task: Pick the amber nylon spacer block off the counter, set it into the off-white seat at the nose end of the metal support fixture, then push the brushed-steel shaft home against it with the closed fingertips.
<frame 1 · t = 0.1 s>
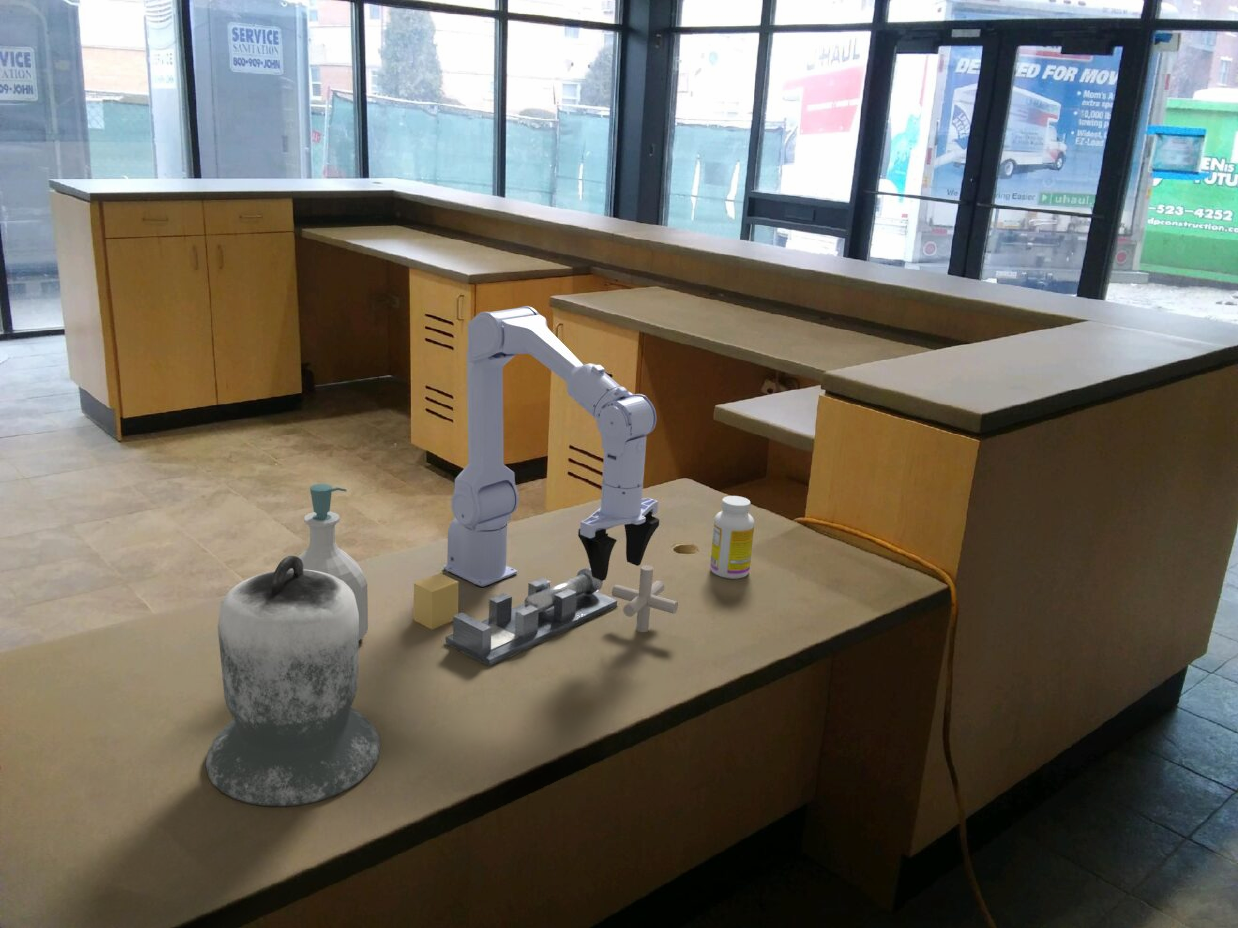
hand: (616, 570, 154), 10 cm above the countertop, fingers open, 7 cm apart
spacer: (435, 619, 158), on the countertop
shaft: (562, 591, 162), point 3 cm above the countertop, slide at 5.0 cm
bell: (295, 757, 124), on the countertop
metal support fixture: (527, 627, 157), on the countertop
soap bottle: (325, 639, 151), on the countertop
supplement bottle: (729, 572, 181), on the countertop
white crossed rods piece: (642, 630, 159), on the countertop
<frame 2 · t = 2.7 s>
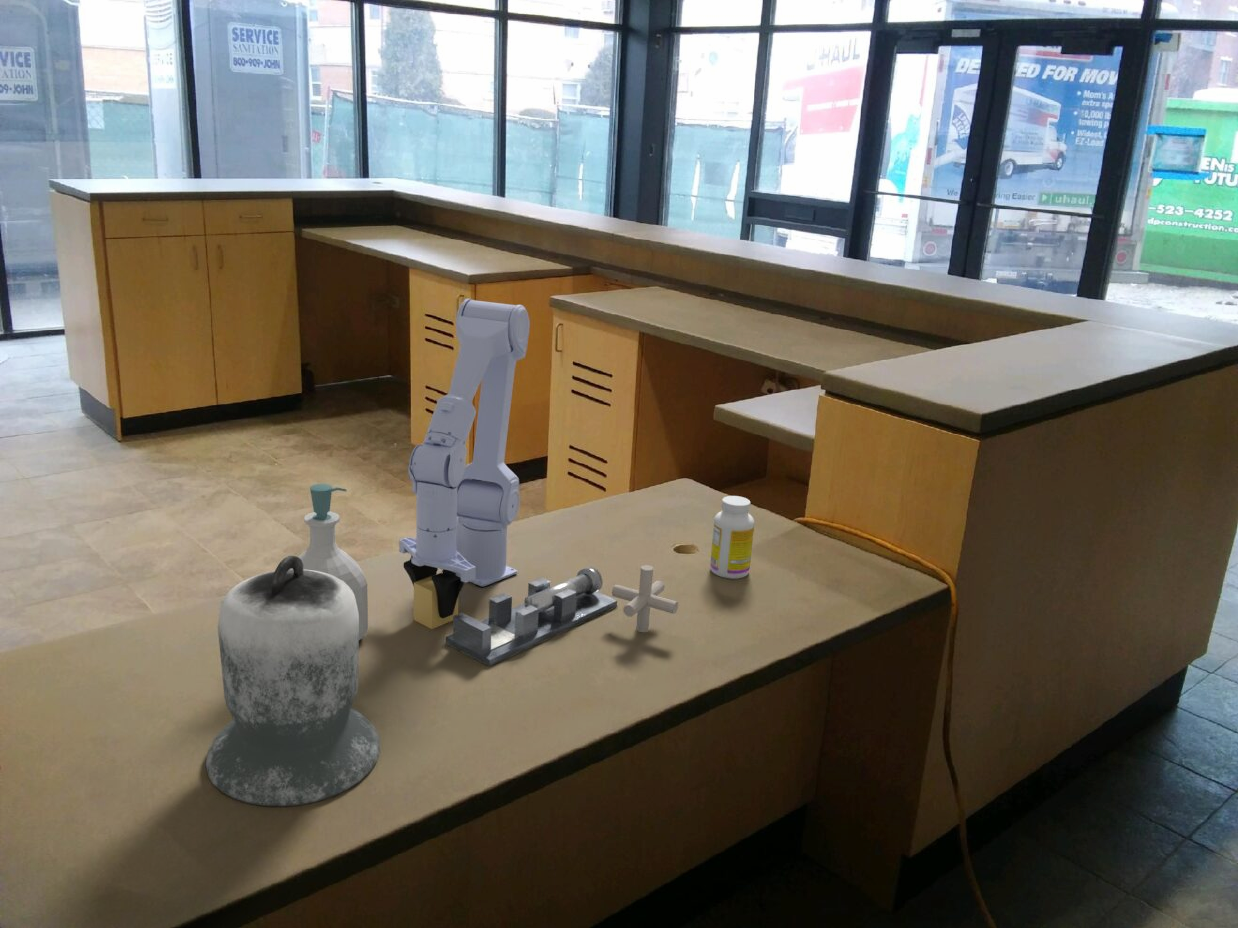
hand: (436, 610, 158), 1 cm above the countertop, fingers closed on spacer, 4 cm apart
spacer: (435, 618, 158), on the countertop, touching gripper
everything else where it was.
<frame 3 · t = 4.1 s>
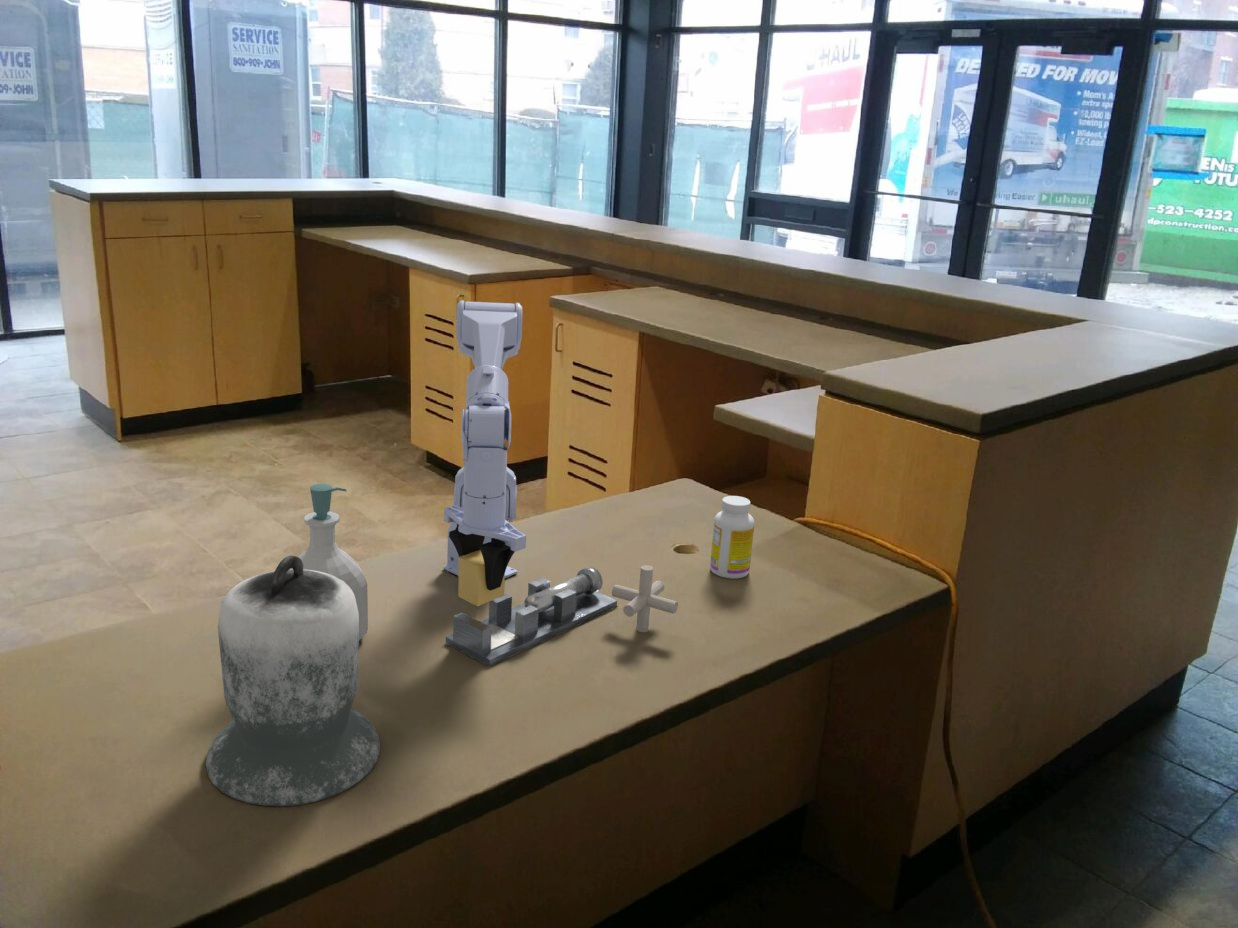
hand: (482, 582, 150), 9 cm above the countertop, fingers closed on spacer, 4 cm apart
spacer: (481, 595, 151), point 7 cm above the countertop, touching gripper
everything else where it was.
when the fingers open (4 cm above the countertop, at t = 5.5 s): spacer stays where it is, resting on metal support fixture.
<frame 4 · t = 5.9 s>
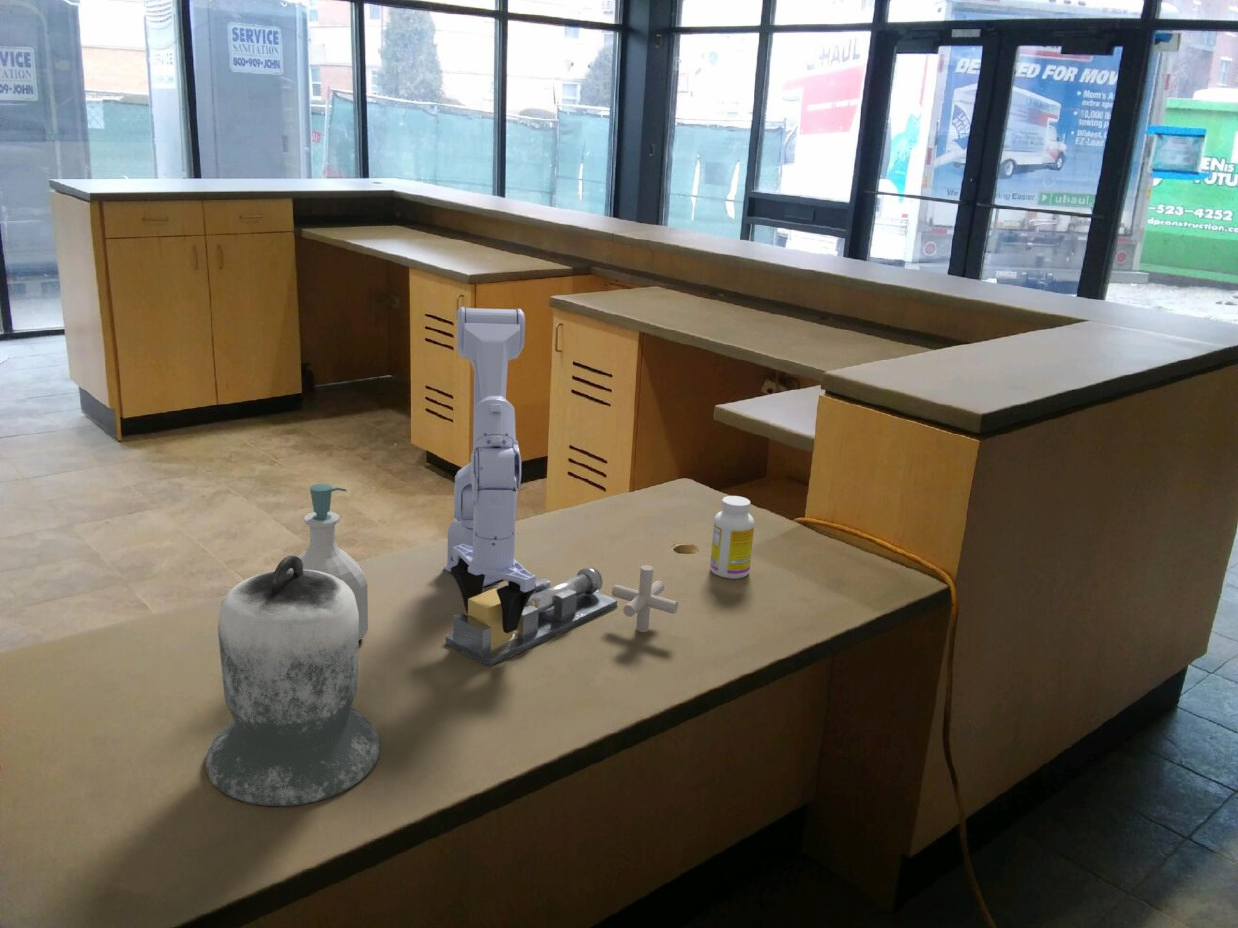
hand: (491, 620, 151), 4 cm above the countertop, fingers open, 7 cm apart
spacer: (490, 636, 152), point 1 cm above the countertop, touching metal support fixture
everything else where it was.
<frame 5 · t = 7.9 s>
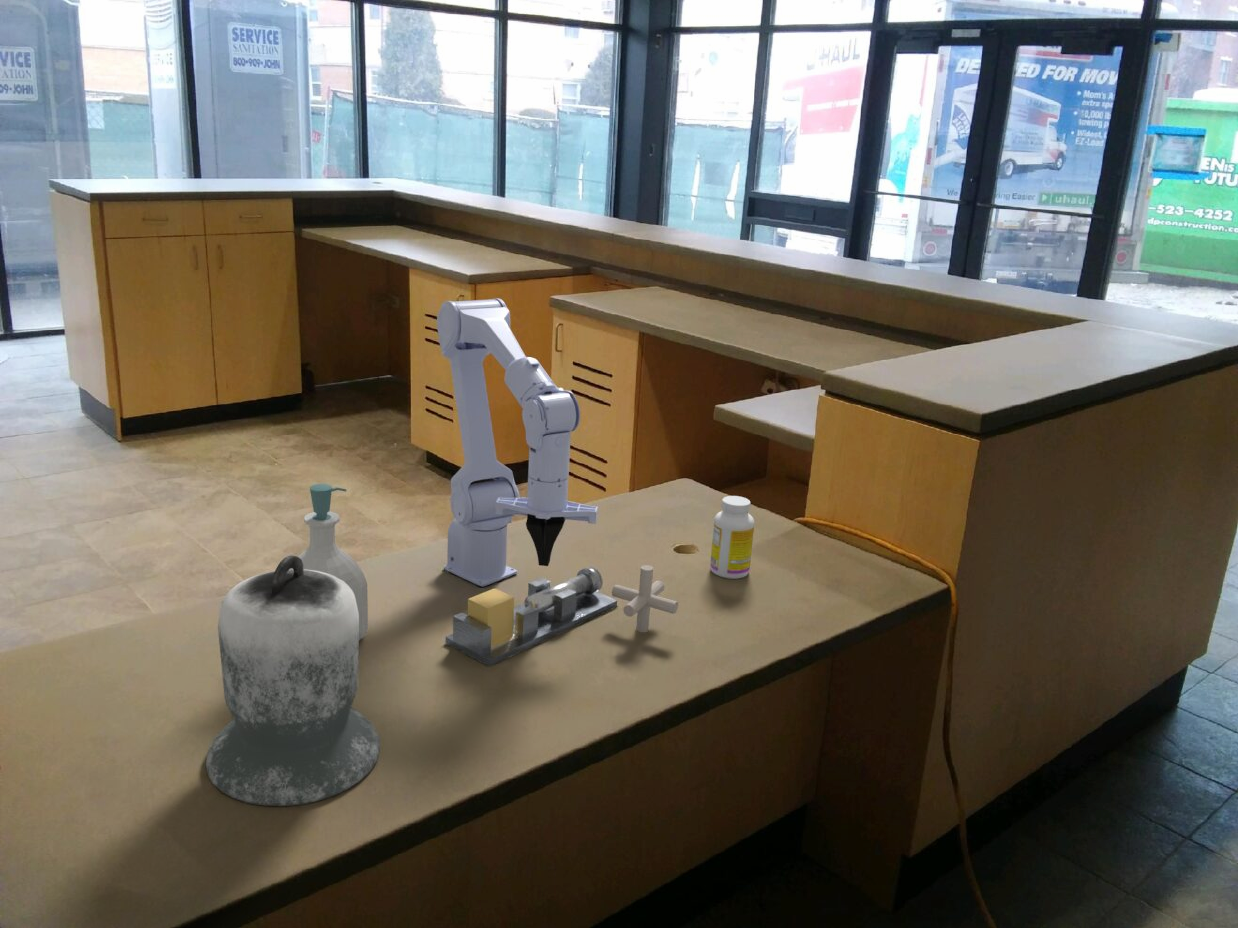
hand: (544, 563, 157), 9 cm above the countertop, fingers closed
nothing on the countertop moved.
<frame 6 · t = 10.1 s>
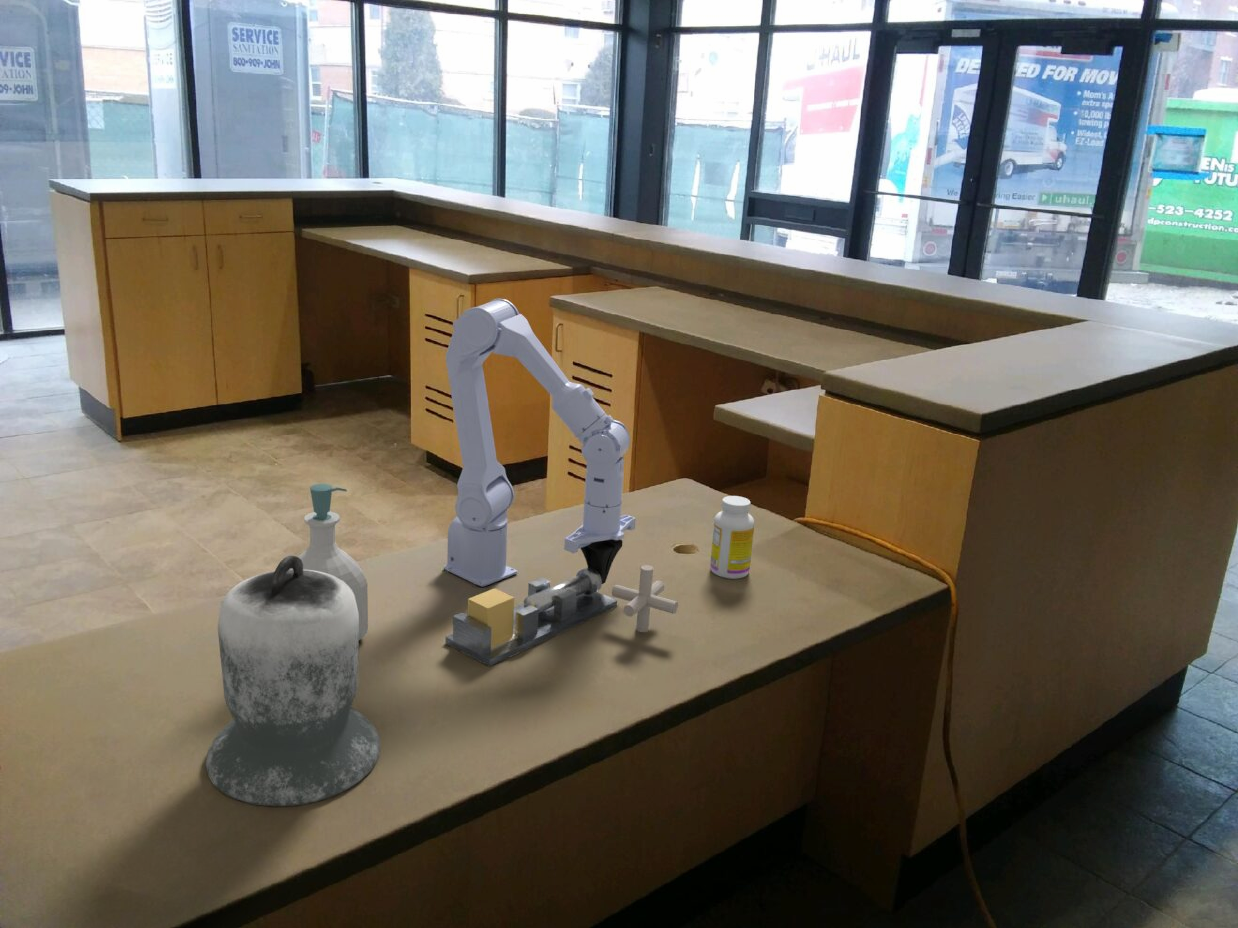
hand: (597, 581, 168), 2 cm above the countertop, fingers closed
shaft: (562, 592, 162), point 3 cm above the countertop, slide at 4.8 cm, touching gripper
everything else where it was.
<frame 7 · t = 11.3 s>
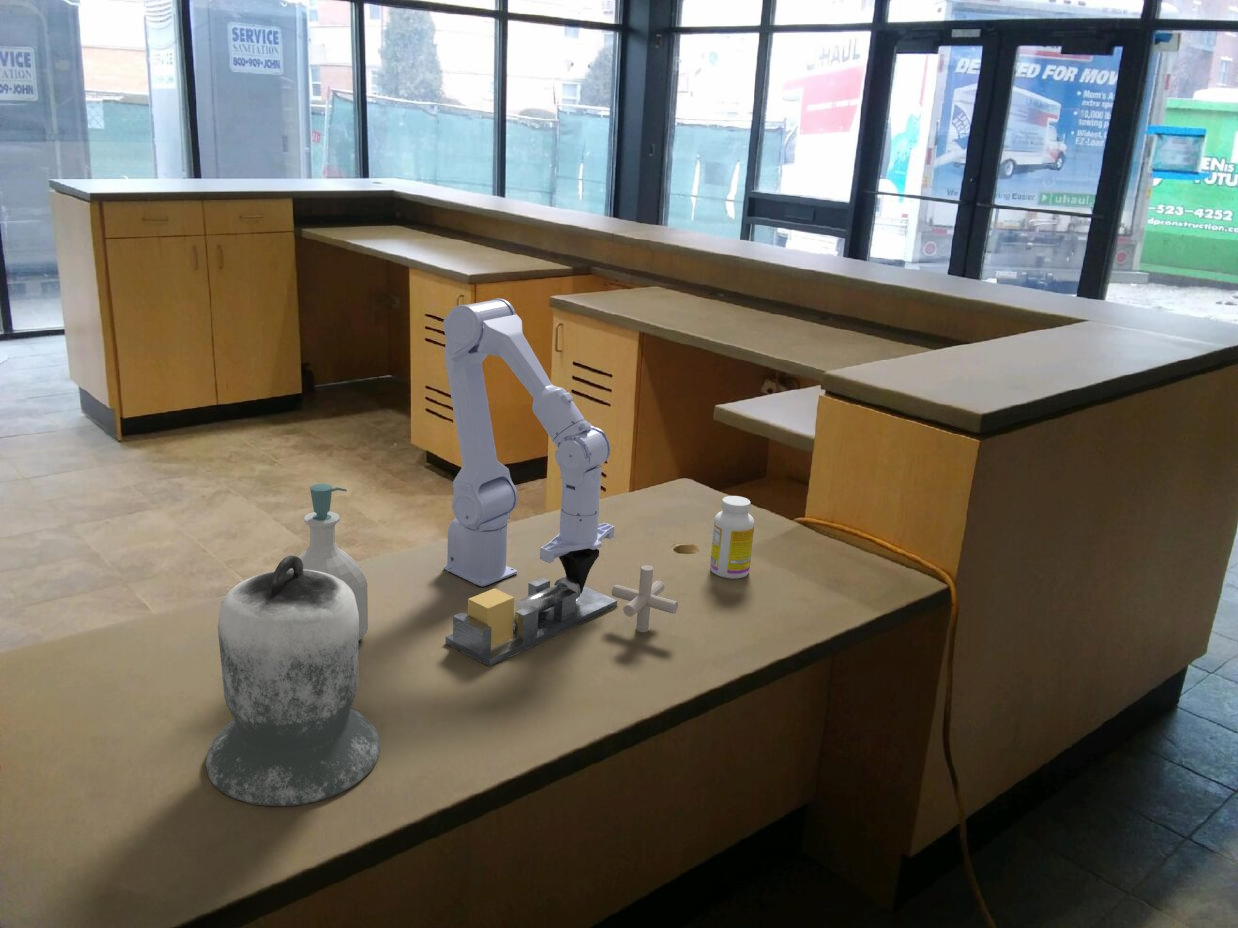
hand: (575, 591, 164), 2 cm above the countertop, fingers closed
shaft: (539, 602, 158), point 3 cm above the countertop, slide at -0.1 cm, touching gripper
everything else where it was.
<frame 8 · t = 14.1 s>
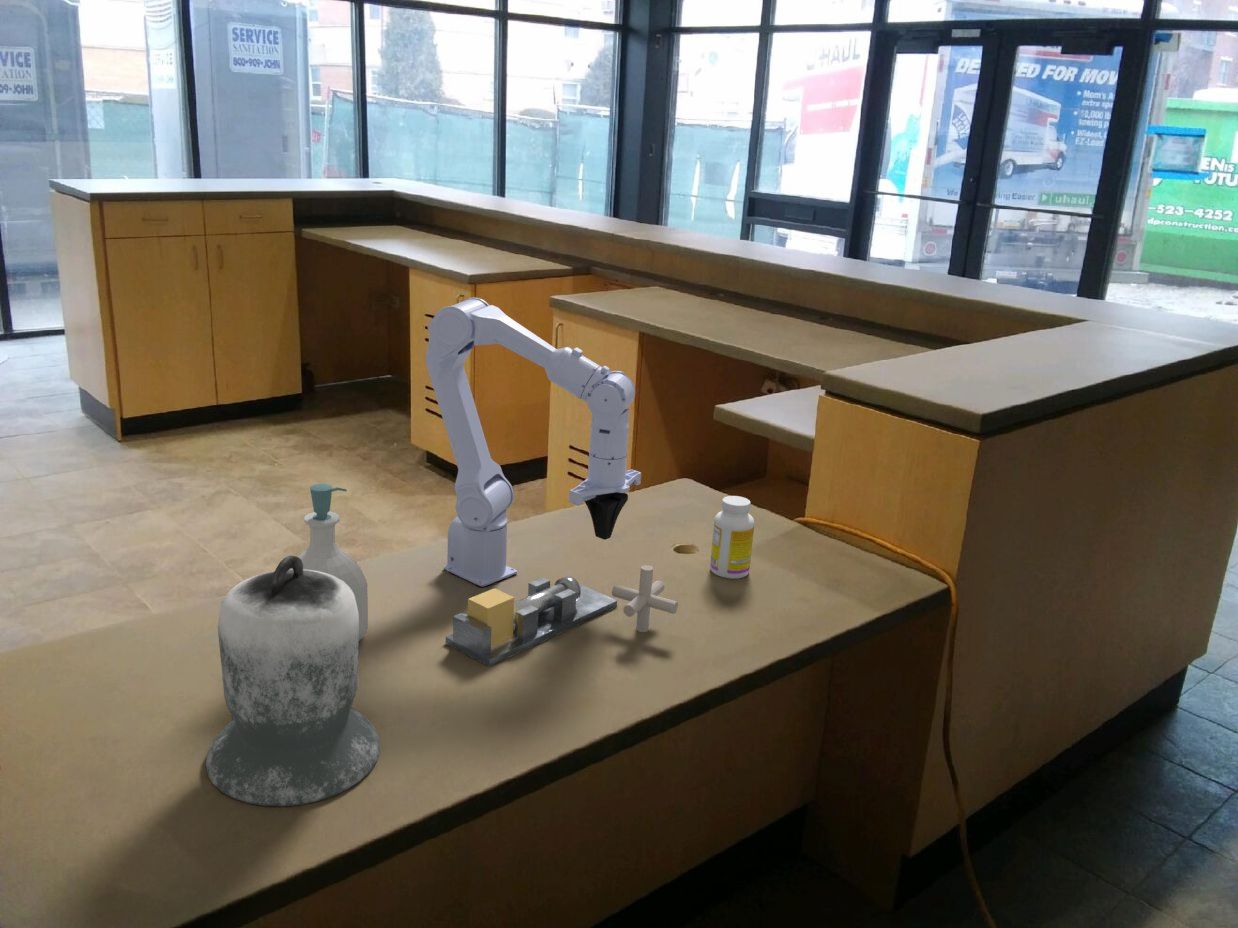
hand: (602, 536, 166), 10 cm above the countertop, fingers closed
shaft: (539, 602, 158), point 3 cm above the countertop, slide at 0.0 cm
everything else where it was.
at the end: shaft slide at 0.0 cm; spacer 0.2 cm from the target spot on the metal support fixture, point 1.2 cm above the metal support fixture's base; spacer tilted 0° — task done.
